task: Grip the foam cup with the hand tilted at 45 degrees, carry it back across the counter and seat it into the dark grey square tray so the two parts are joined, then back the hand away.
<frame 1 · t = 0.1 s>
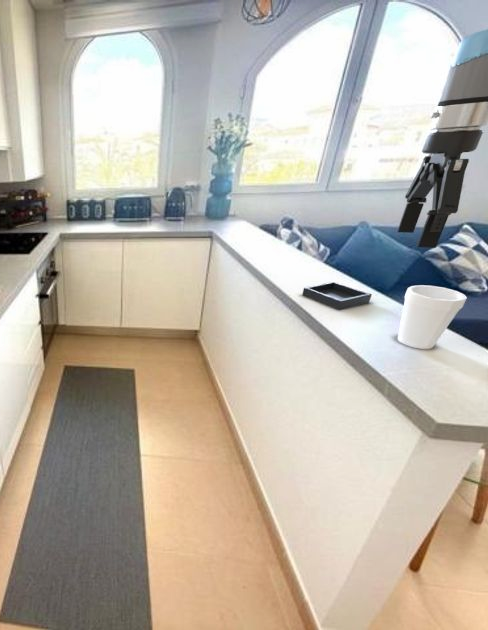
hand: (414, 239, 75), 25 cm above the table, tool pointing down, fingers open, 13 cm apart
foam cup: (414, 342, 83), on the table
dark grey square tray: (334, 299, 107), on the table
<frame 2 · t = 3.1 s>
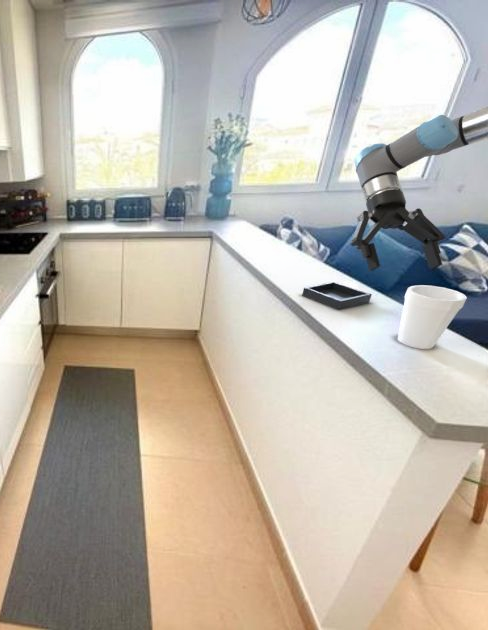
hand: (405, 267, 86), 15 cm above the table, tool tilted 45°, fingers open, 13 cm apart
nothing on the table moved.
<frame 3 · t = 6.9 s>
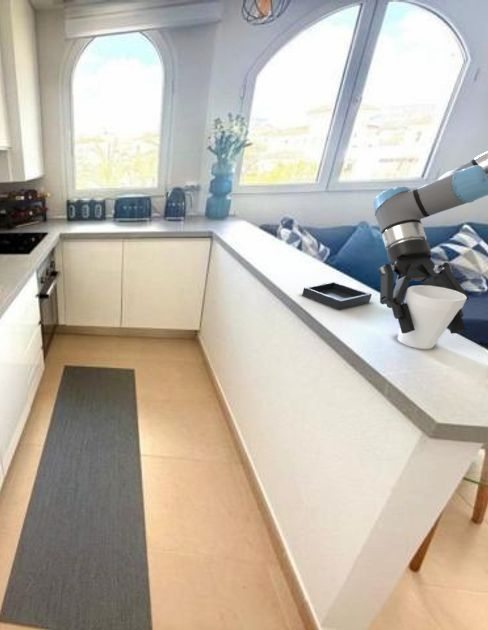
hand: (433, 331, 78), 5 cm above the table, tool tilted 45°, fingers closed on foam cup, 9 cm apart
foam cup: (414, 342, 83), on the table, touching gripper
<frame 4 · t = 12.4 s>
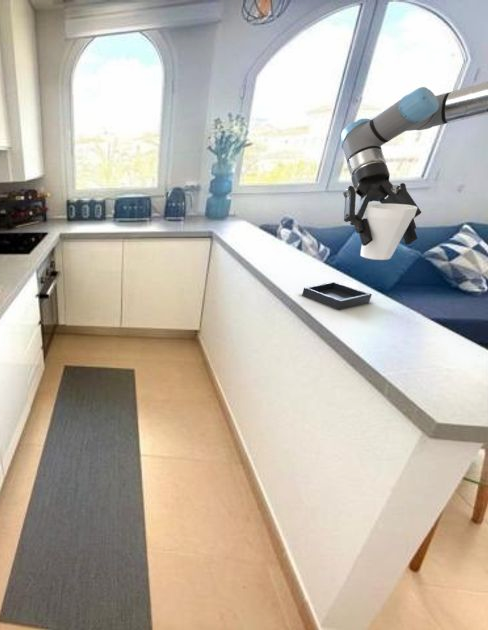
hand: (389, 242, 87), 21 cm above the table, tool tilted 45°, fingers closed on foam cup, 9 cm apart
foam cup: (375, 257, 92), point 16 cm above the table, touching gripper
when the fingers open (5 cm above the table, at t = 18.2 s): foam cup stays where it is, resting on dark grey square tray.
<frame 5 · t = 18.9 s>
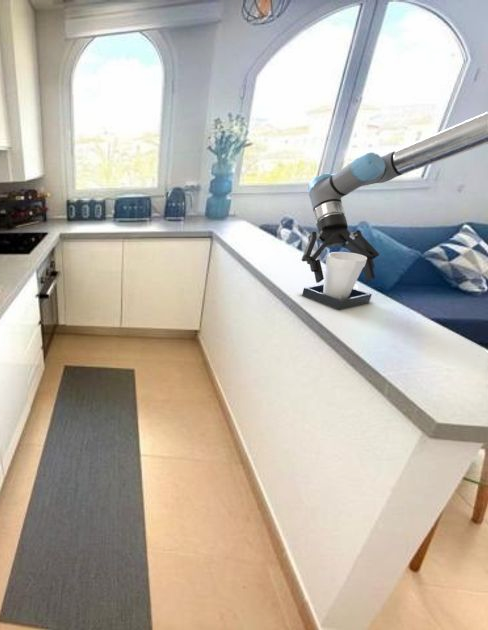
hand: (345, 280, 102), 7 cm above the table, tool tilted 45°, fingers open, 13 cm apart
foam cup: (334, 297, 107), point 1 cm above the table, touching dark grey square tray
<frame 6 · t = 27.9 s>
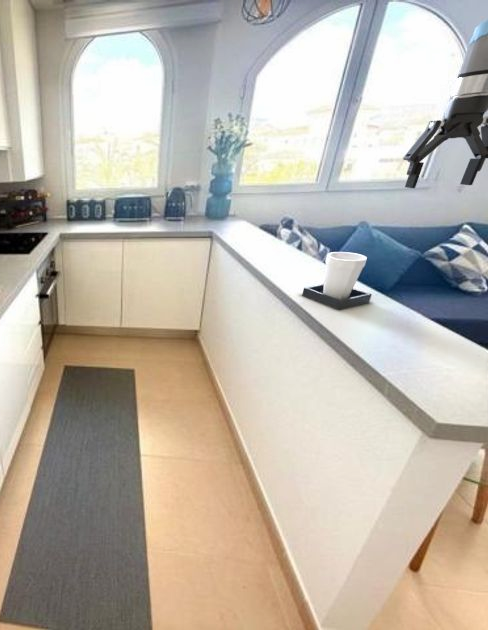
hand: (437, 186, 95), 32 cm above the table, tool pointing down, fingers open, 13 cm apart
nothing on the table moved.
at the end: foam cup 0.1 cm off-centre in the dark grey square tray, point 0.6 cm above the dark grey square tray's base; foam cup tilted 0°; the gripper is holding nothing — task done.
